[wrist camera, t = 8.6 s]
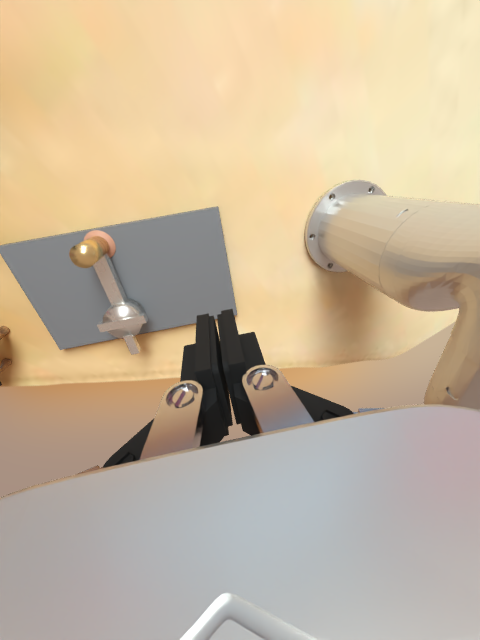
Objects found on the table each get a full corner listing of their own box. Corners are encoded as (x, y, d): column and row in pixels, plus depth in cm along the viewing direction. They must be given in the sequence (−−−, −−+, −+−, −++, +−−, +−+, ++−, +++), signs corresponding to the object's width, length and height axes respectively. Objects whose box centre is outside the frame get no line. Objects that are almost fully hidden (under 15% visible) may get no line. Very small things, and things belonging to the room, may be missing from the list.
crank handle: (160, 337, 41) (154, 357, 36) (119, 346, 40) (109, 367, 36) (119, 231, 32) (105, 239, 28) (68, 240, 32) (47, 251, 28)
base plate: (217, 206, 34) (218, 207, 33) (236, 311, 42) (237, 315, 41) (2, 244, 33) (-5, 247, 32) (63, 345, 41) (59, 350, 40)
